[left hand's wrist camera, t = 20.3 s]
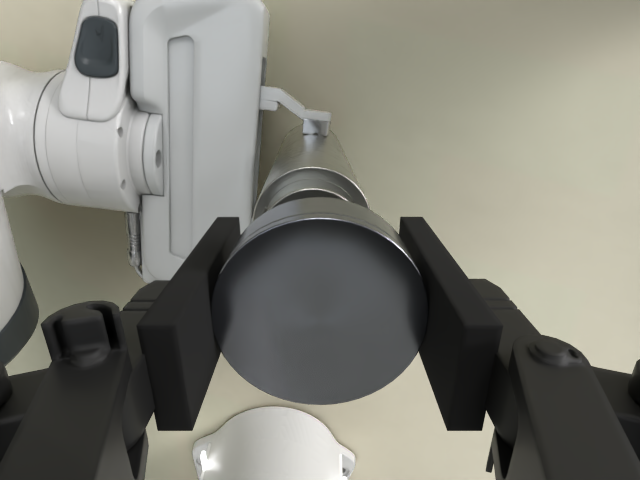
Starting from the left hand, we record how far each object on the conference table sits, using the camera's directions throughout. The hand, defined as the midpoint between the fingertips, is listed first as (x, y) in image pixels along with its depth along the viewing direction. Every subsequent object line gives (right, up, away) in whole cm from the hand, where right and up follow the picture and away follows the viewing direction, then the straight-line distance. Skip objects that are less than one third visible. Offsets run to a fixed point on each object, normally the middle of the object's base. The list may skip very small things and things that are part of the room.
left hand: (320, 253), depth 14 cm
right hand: (0, +5, +14) cm, 15 cm away
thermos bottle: (-1, +8, +20) cm, 21 cm away
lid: (0, -1, -4) cm, 4 cm away
